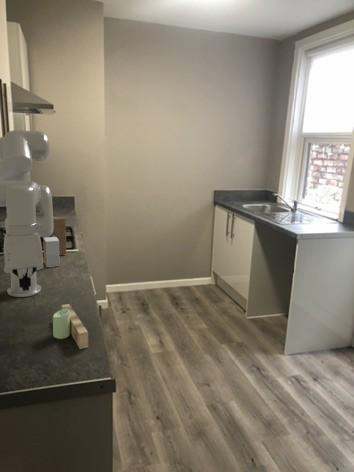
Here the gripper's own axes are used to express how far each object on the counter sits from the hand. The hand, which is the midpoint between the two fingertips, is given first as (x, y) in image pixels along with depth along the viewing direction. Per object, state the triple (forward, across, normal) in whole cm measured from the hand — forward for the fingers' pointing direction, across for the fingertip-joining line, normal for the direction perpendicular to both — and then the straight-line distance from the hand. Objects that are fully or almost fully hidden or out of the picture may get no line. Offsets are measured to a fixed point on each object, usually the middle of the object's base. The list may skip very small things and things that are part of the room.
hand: (25, 288), depth 112 cm
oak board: (+17, -14, +1) cm, 22 cm away
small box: (+20, -22, -70) cm, 75 cm away
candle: (+17, -10, +2) cm, 19 cm away
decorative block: (+20, -27, -86) cm, 92 cm away
